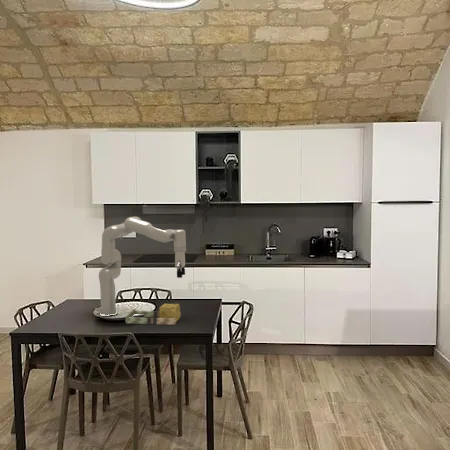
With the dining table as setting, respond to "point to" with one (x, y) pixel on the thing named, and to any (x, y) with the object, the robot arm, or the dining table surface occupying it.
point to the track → (149, 320)
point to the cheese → (170, 311)
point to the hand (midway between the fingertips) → (181, 276)
